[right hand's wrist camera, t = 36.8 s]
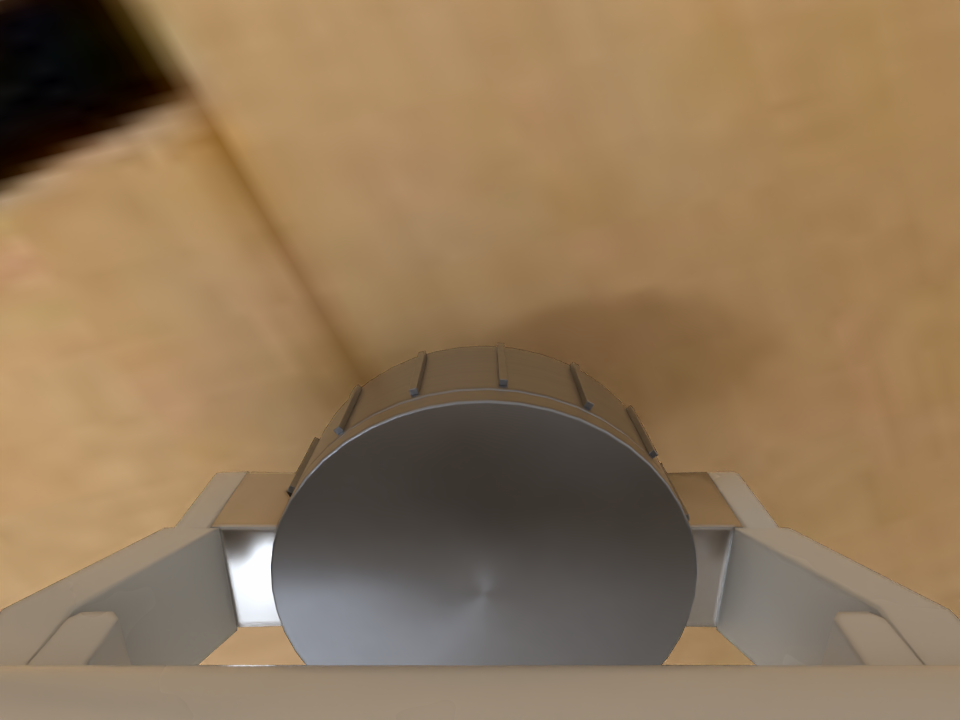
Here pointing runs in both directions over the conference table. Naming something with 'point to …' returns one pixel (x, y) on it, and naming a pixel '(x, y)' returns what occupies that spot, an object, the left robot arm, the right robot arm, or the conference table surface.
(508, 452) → the lid
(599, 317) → the conference table surface
